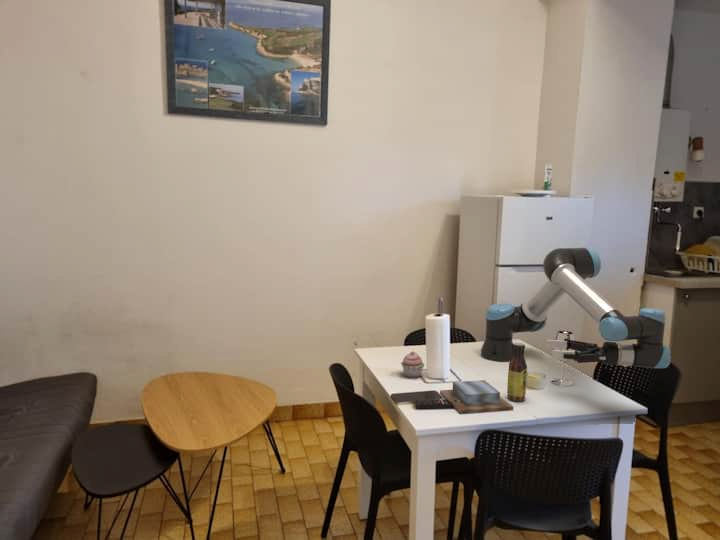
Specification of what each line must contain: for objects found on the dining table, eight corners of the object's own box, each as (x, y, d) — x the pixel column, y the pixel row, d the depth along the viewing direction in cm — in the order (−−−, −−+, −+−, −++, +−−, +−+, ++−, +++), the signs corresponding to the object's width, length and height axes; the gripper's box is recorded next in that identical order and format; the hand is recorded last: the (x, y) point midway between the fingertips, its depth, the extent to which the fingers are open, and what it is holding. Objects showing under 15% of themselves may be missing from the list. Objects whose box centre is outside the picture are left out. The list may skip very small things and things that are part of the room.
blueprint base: (488, 390, 190) (489, 376, 189) (513, 410, 172) (514, 395, 172) (439, 393, 186) (440, 379, 185) (459, 414, 168) (460, 398, 168)
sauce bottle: (526, 403, 178) (529, 347, 176) (507, 401, 180) (510, 346, 177) (524, 396, 185) (527, 342, 182) (506, 394, 186) (509, 341, 183)
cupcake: (395, 375, 204) (396, 351, 202) (409, 369, 211) (410, 346, 209) (414, 381, 198) (415, 356, 196) (428, 375, 205) (429, 351, 203)
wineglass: (574, 381, 200) (578, 331, 198) (570, 387, 194) (574, 336, 191) (553, 377, 205) (557, 328, 202) (548, 383, 198) (552, 332, 196)
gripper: (626, 376, 161) (554, 370, 165) (606, 354, 185) (544, 349, 190) (628, 353, 160) (555, 347, 164) (608, 333, 184) (545, 329, 189)
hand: (549, 348), depth 177 cm, fingers open, 13 cm apart
